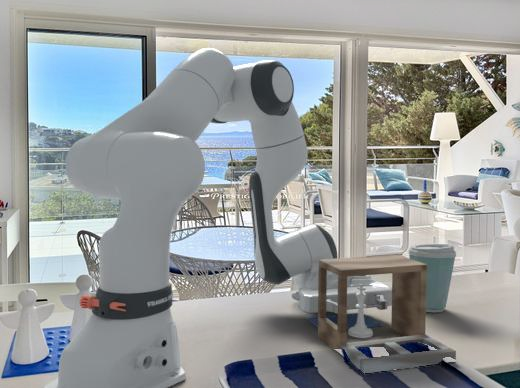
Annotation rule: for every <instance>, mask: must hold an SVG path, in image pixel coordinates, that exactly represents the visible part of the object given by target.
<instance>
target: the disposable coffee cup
mask: <svg viewBox="0 0 520 388" xmlns="http://www.w3.org/2000/svg"><path fill="white" fill-rule="evenodd" d="M407 253H408V255H409V259H412V260H415V261H418V262H421V263H424V264H427V283H426V313H442V312H444V311H445V310H446V307H447V302H448V297H449V292H450V287H451V281H452V278H453V277H452V276H453V271H454V266H455V259H456V257H457V252H456V251H455V246H454V245H453V244H449V243H424V244H415V245H411V247H408V251H407Z"/></svg>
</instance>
